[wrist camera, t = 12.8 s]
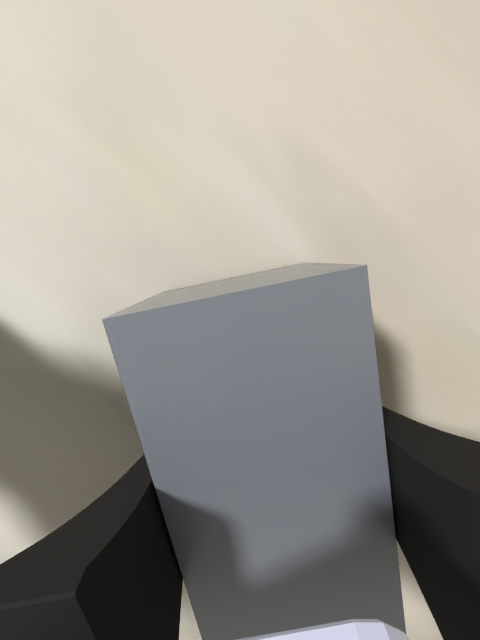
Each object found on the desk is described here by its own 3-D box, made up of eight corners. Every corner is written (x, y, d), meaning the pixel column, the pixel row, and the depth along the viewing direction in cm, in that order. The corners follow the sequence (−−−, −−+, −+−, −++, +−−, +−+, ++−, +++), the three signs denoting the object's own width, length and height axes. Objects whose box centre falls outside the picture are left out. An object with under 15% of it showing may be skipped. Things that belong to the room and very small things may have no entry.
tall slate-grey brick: (220, 514, 14) (212, 670, 9) (162, 292, 12) (102, 319, 7) (340, 492, 14) (406, 635, 9) (305, 262, 12) (366, 264, 6)
